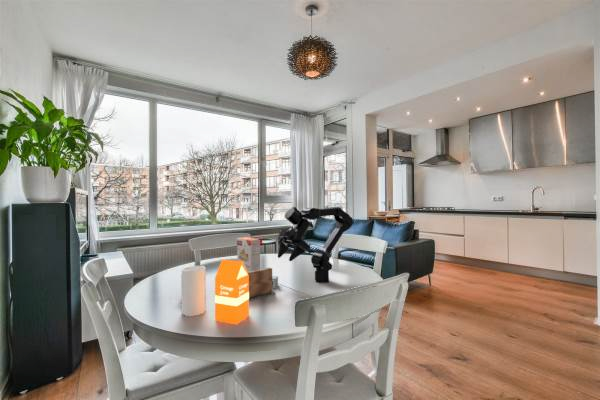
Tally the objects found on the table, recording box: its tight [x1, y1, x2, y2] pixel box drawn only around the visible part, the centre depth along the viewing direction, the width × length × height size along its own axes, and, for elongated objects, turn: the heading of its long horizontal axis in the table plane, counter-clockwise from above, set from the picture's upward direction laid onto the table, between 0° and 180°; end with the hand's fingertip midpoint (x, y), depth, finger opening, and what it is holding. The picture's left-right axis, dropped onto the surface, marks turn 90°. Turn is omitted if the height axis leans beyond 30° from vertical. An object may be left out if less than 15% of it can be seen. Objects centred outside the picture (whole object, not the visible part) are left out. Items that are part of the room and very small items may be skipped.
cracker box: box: [236, 236, 261, 272], centre depth 149 cm, size 14×6×21 cm, turn 42°
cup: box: [181, 265, 207, 317], centre depth 104 cm, size 8×8×16 cm
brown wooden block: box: [247, 267, 273, 297], centre depth 120 cm, size 12×3×10 cm, turn 128°
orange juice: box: [214, 259, 250, 325], centre depth 98 cm, size 8×9×20 cm
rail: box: [249, 290, 276, 301], centre depth 118 cm, size 22×4×2 cm, turn 128°
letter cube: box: [272, 275, 279, 289], centre depth 134 cm, size 4×5×4 cm
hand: (283, 259), depth 129 cm, fingers open, 9 cm apart
